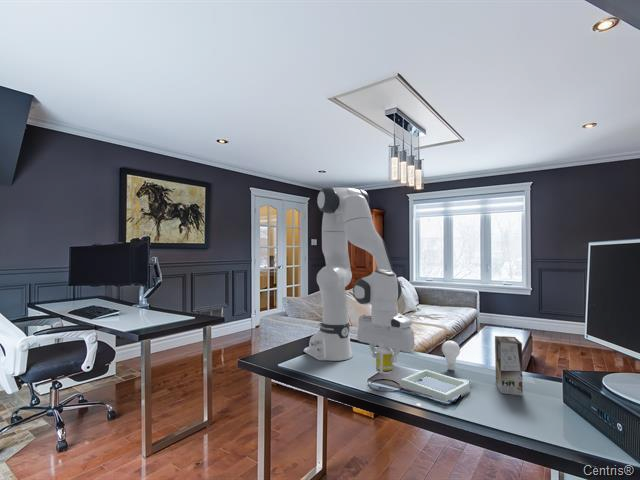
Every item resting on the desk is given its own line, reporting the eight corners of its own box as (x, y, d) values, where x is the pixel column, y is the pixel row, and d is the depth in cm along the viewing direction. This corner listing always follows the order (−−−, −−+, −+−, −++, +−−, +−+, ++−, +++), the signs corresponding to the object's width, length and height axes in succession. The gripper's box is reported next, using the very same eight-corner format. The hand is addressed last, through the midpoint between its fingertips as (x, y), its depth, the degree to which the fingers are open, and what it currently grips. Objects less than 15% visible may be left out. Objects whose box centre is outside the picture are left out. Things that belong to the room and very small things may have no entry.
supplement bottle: (394, 370, 115) (395, 341, 115) (388, 375, 111) (388, 345, 111) (380, 367, 118) (380, 338, 118) (373, 372, 114) (373, 342, 114)
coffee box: (523, 396, 105) (522, 343, 106) (500, 393, 107) (499, 341, 108) (516, 385, 114) (515, 336, 115) (495, 382, 116) (494, 335, 116)
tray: (401, 388, 111) (401, 379, 112) (425, 377, 120) (425, 369, 121) (446, 405, 99) (446, 394, 99) (469, 392, 108) (469, 382, 108)
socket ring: (362, 384, 115) (362, 383, 115) (382, 376, 122) (382, 376, 122) (387, 395, 106) (387, 394, 106) (408, 386, 113) (408, 385, 113)
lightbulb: (460, 368, 130) (460, 339, 130) (459, 374, 124) (459, 343, 124) (442, 366, 132) (442, 337, 133) (441, 371, 126) (440, 341, 127)
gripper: (353, 315, 119) (353, 355, 119) (407, 324, 106) (407, 369, 105) (364, 312, 124) (363, 351, 124) (416, 321, 110) (416, 364, 110)
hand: (384, 359), depth 114 cm, fingers closed on supplement bottle, 5 cm apart
